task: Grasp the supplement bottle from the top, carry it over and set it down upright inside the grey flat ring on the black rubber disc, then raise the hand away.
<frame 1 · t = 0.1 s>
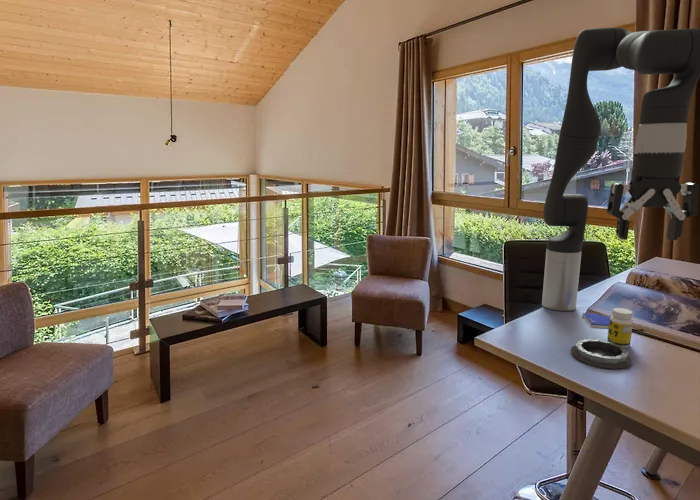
hand: (647, 239, 84), 29 cm above the table, tool pointing down, fingers open, 8 cm apart
supplement bottle: (618, 344, 108), on the table
grey flat ring: (600, 357, 101), on the table
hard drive: (611, 325, 121), on the table
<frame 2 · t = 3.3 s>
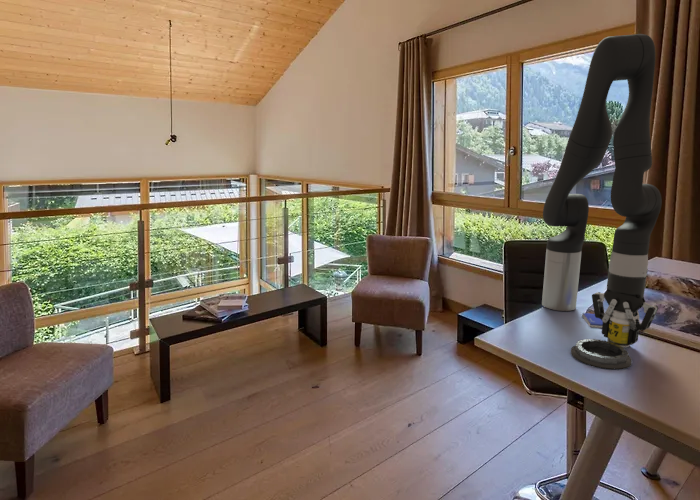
hand: (618, 339, 107), 1 cm above the table, tool pointing down, fingers closed on supplement bottle, 4 cm apart
supplement bottle: (618, 344, 108), on the table, touching gripper
everything else where it was.
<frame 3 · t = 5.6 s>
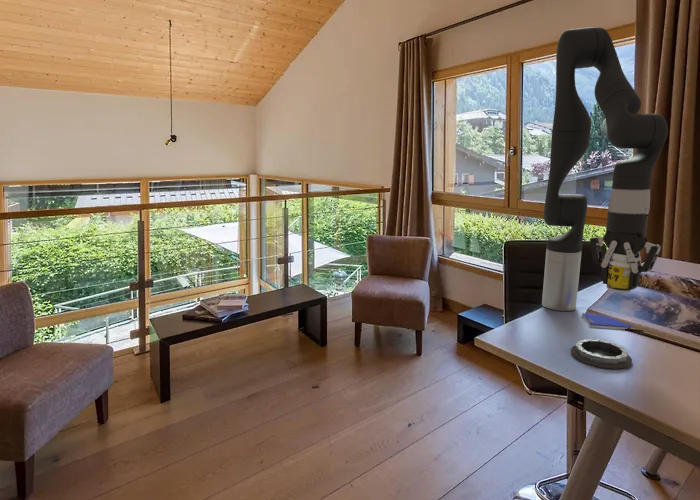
hand: (619, 285, 100), 16 cm above the table, tool pointing down, fingers closed on supplement bottle, 4 cm apart
supplement bottle: (618, 290, 100), point 15 cm above the table, touching gripper
everything else where it was.
when the fingers open (2 cm above the table, at t = 8.2 s): supplement bottle stays where it is, resting on grey flat ring.
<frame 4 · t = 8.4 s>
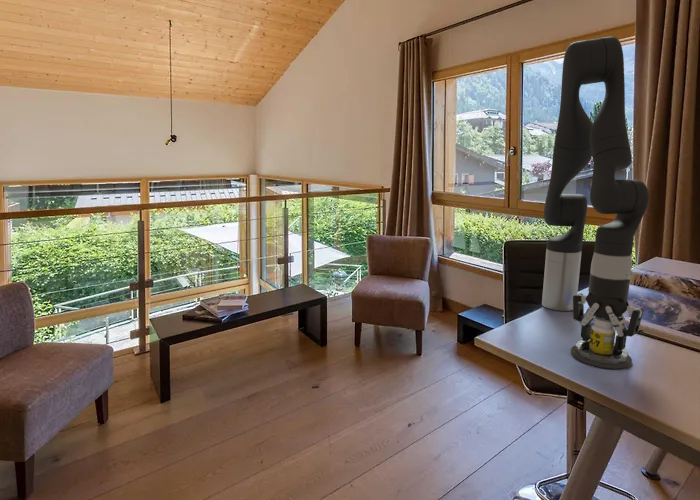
hand: (601, 345, 100), 3 cm above the table, tool pointing down, fingers open, 6 cm apart
supplement bottle: (600, 355, 101), resting on grey flat ring
everything else where it was.
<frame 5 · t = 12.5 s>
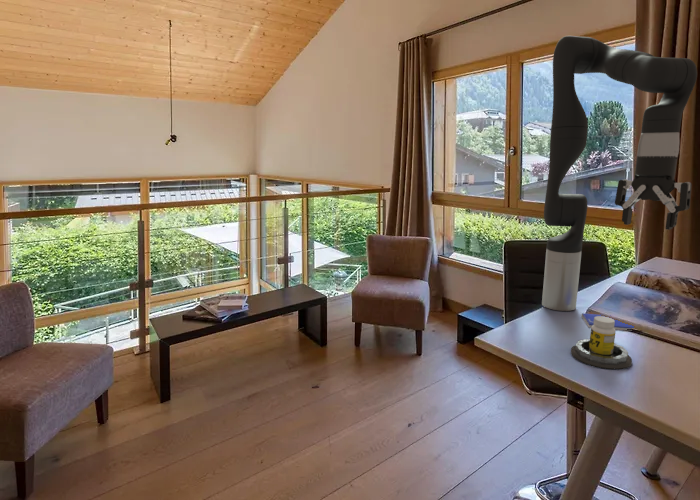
hand: (647, 226, 103), 28 cm above the table, tool pointing down, fingers open, 8 cm apart
nothing on the table moved.
at the end: supplement bottle 0.1 cm off-centre on the grey flat ring, point 0.4 cm above the grey flat ring's base; supplement bottle tilted 0°; the gripper is holding nothing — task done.
